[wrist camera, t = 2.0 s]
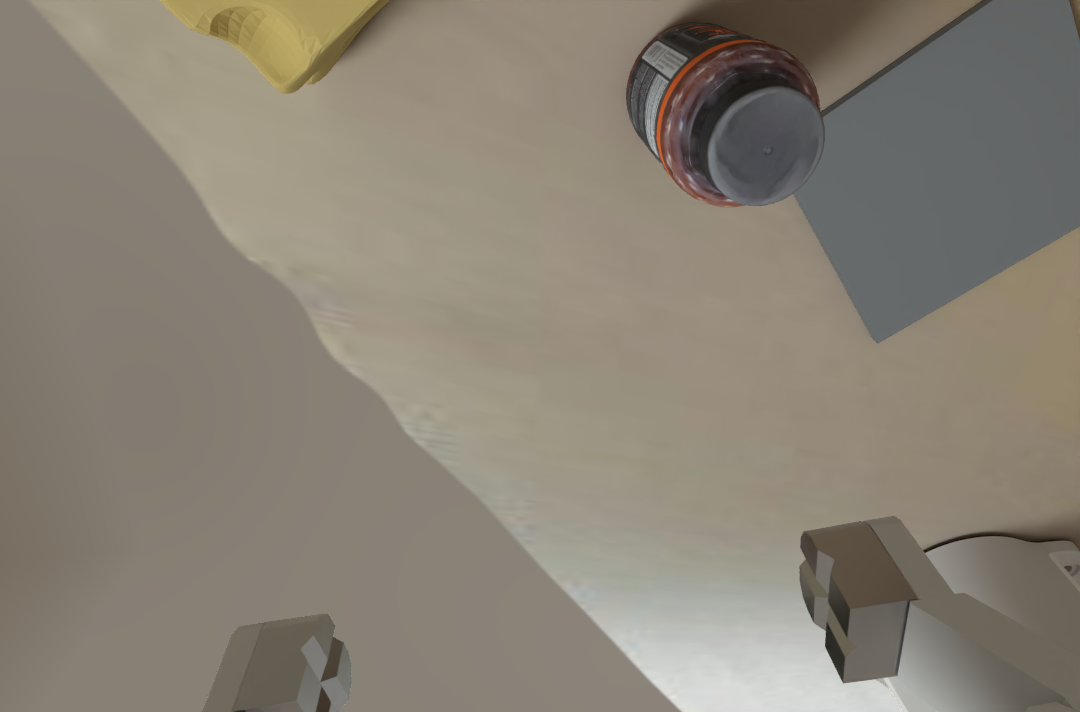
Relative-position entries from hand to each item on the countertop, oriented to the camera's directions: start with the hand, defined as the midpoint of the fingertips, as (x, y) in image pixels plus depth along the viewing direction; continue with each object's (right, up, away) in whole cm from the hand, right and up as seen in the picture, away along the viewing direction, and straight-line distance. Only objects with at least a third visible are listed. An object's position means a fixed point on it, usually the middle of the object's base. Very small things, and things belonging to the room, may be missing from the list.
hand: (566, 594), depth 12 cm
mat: (+21, +14, +24) cm, 34 cm away
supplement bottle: (+6, +17, +21) cm, 28 cm away
